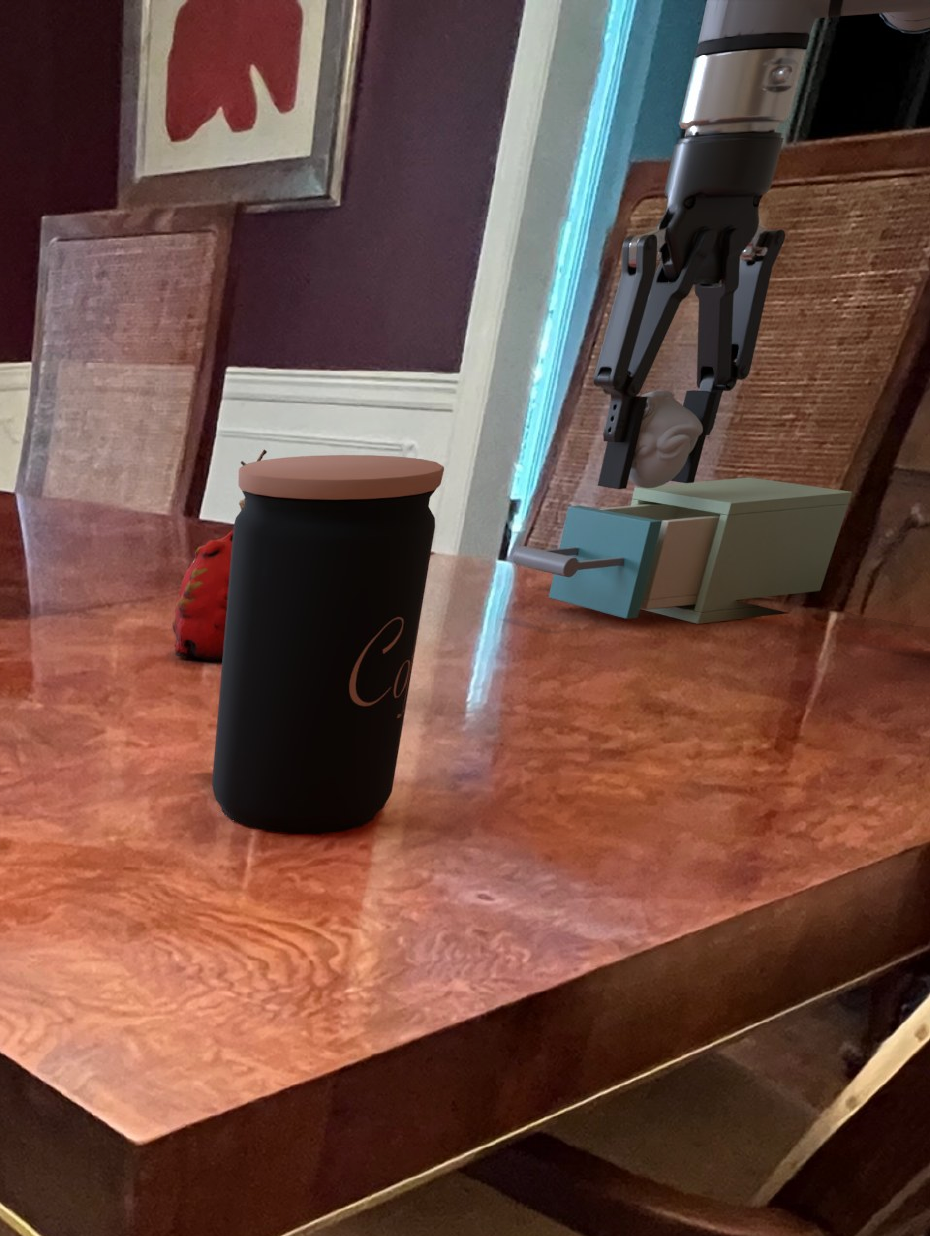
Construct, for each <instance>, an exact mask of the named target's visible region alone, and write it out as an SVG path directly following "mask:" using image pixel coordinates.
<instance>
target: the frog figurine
mask: <svg viewBox="0 0 930 1236" xmlns="http://www.w3.org/2000/svg"><path fill="white" fill-rule="evenodd" d="M641 396H643V397H648V398H647V402H646V407H645V411H644V415H643V419H642V424H641V428H640V432H639V436H638V441H637V445H636V449H635V453H634V458H633V462H632V466H631V470H630V475H629V479H628V480H629V481H630V482H631V483H632V484H634V485H635V486H636V487H643V488H655V487H658V486H661V485H667V483H669V482H671V481H670V480H672V479H673V478H674V477H675V476H676V475H677V474H678V473H679V472H680V471H681V469H682V468H683V466H684V464H685V463H686V460H687V458H688V454H689V453H690V452H691V451H692V450H693V448H694V446H695V444H696V442H697V439H698V436H699V435H700V434H701V433H702V432H703V427H702V424H701V422H700V421H699V419H698V418H697V417H696V416H695V415H694V414H693V413H692V412H691V411H690V410H688V409H686V408H685V407H684V406H683V403H681V402H679V401H678V400H676V398H675V397H674V394H673V392H671V391H669V390H667V389H666V390H665V389H660V390H659V389H658V390H651V391H648V392H647V393H644V394H642V395H641Z"/></svg>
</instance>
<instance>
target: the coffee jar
mask: <svg viewBox="0 0 930 1236" xmlns="http://www.w3.org/2000/svg"><path fill="white" fill-rule="evenodd" d="M256 461H257V460H256ZM256 461H252V462H248V463H246V465H244V466H243V465H242V466H240V467H239V469H238V482H237V483H238V487H239V489H240V490H241V492H242V494H243V496H244V498H245V507H244V508H243V509H242V510H241V509H240V511H239V513H238V514H237V516H236V517H235V520H234V523H233V527H232V528H233V529H232V531H233V540H232V552H231V564H230V575H229V587H228V599H227V611H226V623H225V635H224V647H223V659H222V660H221V673H220V684H219V685H220V686H219V694H218V695H219V697H218V708H217V718H216V719H217V720H216V732H215V741H214V743H215V745H214V754H213V755H214V756H213V767H212V778H211V779H212V780H211V786H212V792H213V795H214V798H215V801H216V803H217V804H218V805H219V806H220V809H221V813H222V812H223V813H224V814H223V813H222V814H223V815H224V816H226V815H227V816H226V817H227V818H228V817H229V818H228V819H230V820H231V821H232V820H234V821H233V822H235V823H237V822H238V823H237V824H240V825H242V824H243V825H242V826H244V827H247V826H248V828H251V827H252V829H256V830H260V829H261V830H260V831H266V832H269V833H279V834H289V835H323V834H333V833H342V832H346V831H350V830H354V829H358V828H361V827H363V826H366V825H367V824H369V823H371V822H372V821H374V819H375V818H376V816H377V815H378V813H379V812H380V811H381V810H383V808H384V807H385V805H386V803H388V800H389V798H390V797H391V794H392V792H393V788H394V783H395V782H394V781H395V776H396V769H397V763H398V758H399V751H400V743H401V739H402V733H403V727H404V720H405V713H406V707H407V701H408V695H409V689H410V683H411V677H412V671H413V666H414V665H413V664H414V658H415V654H416V646H417V642H418V641H417V640H418V636H419V635H418V633H419V628H420V621H421V616H422V609H423V605H424V604H423V603H424V598H425V591H426V585H427V579H428V572H429V567H430V561H431V555H432V549H433V543H434V536H435V532H436V531H435V530H436V518H435V516H434V513H433V512H432V510H431V508H430V501H431V500H430V499H431V497H432V495H433V494H434V493H435V491H436V490H437V489H438V488H439V487H440V486H441V484H442V479H443V476H444V472H445V466H443V464H440V463H439V462H437V461H433V460H429V459H423V458H417V457H416V458H415V457H407V456H406V457H405V456H394V455H393V456H392V455H374V454H372V455H371V454H326V455H303V456H289V457H278V458H268V459H261V461H257V462H256Z"/></svg>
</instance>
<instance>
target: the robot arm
mask: <svg viewBox="0 0 930 1236" xmlns="http://www.w3.org/2000/svg"><path fill="white" fill-rule="evenodd" d="M705 3H706V4H705V8H704V13H703V18H702V22H701V28H700V32H699V38H698V41H697V45H698V46H696V50H695V54H694V59H693V62H692V66H691V70H690V75H689V79H688V84H687V88H686V91H685V96H684V101H683V105H682V109H681V113H680V118H679V122H678V125H679V126H680V129H683V130H685V133H684V137H683V138H682V137H681V138H679V139H678V141H677V143H676V144H674V147H673V151H672V156H671V160H670V164H669V167H668V168H669V170H668V173H667V178H666V182H665V187H664V190H663V191H664V198H666V200H667V203H666V209H665V211H664V213H663V215H662V217H661V219H660V221H659V222H658V225H657V227H656V228H655V229H653V230H651V231H647V232H646V233H644V234H631V235H628V236H627V237H626V238H624V241H623V243H622V249H621V274H620V278H619V281H618V285H617V288H616V292H615V293H616V294H615V297H614V300H613V303H612V307H611V312H610V315H609V319H608V322H607V326H606V330H605V333H604V337H603V341H602V345H601V349H600V352H599V353H600V354H599V356H598V360H597V363H596V367H595V371H594V375H593V379H592V382H593V385H594V387H596V388H601V389H602V390H603V393H604V394H605V395H610V402H609V406H608V411H607V416H606V421H605V425H604V429H603V433H602V437H603V442H606V446H605V449H604V450H605V451H604V455H603V460H602V463H601V469H600V473H599V478H598V482H597V486H598V487H603V488H608V489H609V488H610V489H614V490H625V489H627V487H628V483H629V480H630V479H629V475H630V470H631V466H632V462H633V458H634V453H635V449H636V445H637V441H638V436H639V432H640V428H641V424H642V419H643V415H644V411H645V407H646V402H647V398H648V397H643V396H642V395H641V396H640V395H639V394H640V392H641V391H642V388H643V386H644V385H645V382H646V380H647V378H648V375H649V373H650V371H651V369H652V366H653V364H654V362H655V360H656V358H657V356H658V353H659V352H660V349H661V347H662V344H663V342H664V340H665V338H666V336H667V333H668V331H669V329H670V327H671V325H672V323H673V321H674V318H675V316H676V314H677V312H678V309H679V307H680V305H681V303H682V302H683V300H685V299H686V298H687V297H688V296H689V294H690V293H691V290H692V289H693V286H694V294H695V296H696V297H697V299H698V317H697V318H698V319H697V320H698V321H697V355H696V359H697V360H696V387H697V389H698V390H696V389H691V390H686V392H685V395H684V400H683V403H682V406H684V407H685V408H686V409H688V410H690V411H691V412H692V413H693V414H694V415H695V416H696V417H697V418H698V419H699V421H700V422H701V424H702V427H703V432H702V433H701V434H700V435H699V436H698V439H697V442H696V444H695V446H694V448H693V450H692V451H691V452H690V453H689V454H688V458H687V460H686V463H685V464H684V466H683V468H682V469H681V471H680V472H679V473H678V474H677V475H676V476H675V477H674V478H673V479H672V480H670V481H669V482H675V483H694V482H695V480H696V475H697V473H698V469H699V464H700V461H701V457H702V453H703V448H704V445H705V441H706V437H707V436H710V435H711V433H712V431H713V429H714V426H715V422H716V419H717V413H718V412H719V411H718V410H719V408H720V407H719V406H720V403H721V400H722V396H723V393H724V392H730V391H732V390H734V388H735V386H736V385H737V382H738V380H739V381H740V380H741V381H743V380H745V379H746V378H747V377H748V375H749V374H750V371H751V369H752V363H753V360H754V359H753V358H754V355H755V349H756V345H757V340H758V337H759V331H760V327H761V322H762V317H763V313H764V309H765V304H766V299H767V295H768V290H769V285H770V280H771V276H772V272H773V267H774V265H775V263H776V260H777V258H778V256H779V254H780V251H781V249H782V247H783V245H784V243H785V240H786V232H785V230H784V229H768V228H767V227H766V228H765V227H764V226H761V225H760V214H759V213H760V212H759V209H760V202H761V200H762V198H763V196H765V194H767V193H768V192H769V191H770V190H771V188H772V186H773V181H774V177H775V174H776V169H777V165H778V162H779V158H780V154H781V151H782V146H783V143H784V140H785V139H784V138H783V137H782V135H783V133H782V132H777V129H778V126H779V124H782V123H784V122H785V121H786V120H787V119H788V118H790V114H791V110H792V107H793V104H794V99H795V95H796V91H797V88H798V83H799V80H800V77H801V72H802V68H803V65H804V60H805V56H806V53H807V50H808V46H809V42H810V39H811V32H812V30H813V27H814V24H815V22H816V20H817V19H820V18H821V19H822V18H829V19H831V18H833V19H834V18H840V17H845V16H846V17H847V16H858V15H861V16H862V15H873V14H875V15H876V14H879V17H880V18H881V19H883V21H884V23H885V24H886V25H887V26H889V28H892V29H894V30H897V31H900V32H901V33H903V34H910V35H915V34H923V33H926V32H929V31H930V0H706V2H705ZM658 261H659V264H658V266H657V262H658Z"/></svg>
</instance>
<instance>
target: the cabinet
mask: <svg viewBox="0 0 930 1236" xmlns="http://www.w3.org/2000/svg"><path fill="white" fill-rule="evenodd" d="M852 494H853V492H852V491H848V490H841V489H834V488H827V487H821V486H820V487H819V486H813V485H805V484H799V483H793V482H792V483H791V482H784V481H777V480H770V479H764V478H758V477H757V478H756V477H739V478H737V477H736V478H726V479H716V480H714V479H713V480H704V481H694V483H681V482H679V483H671V484H664V485H661V486H658V487H655V488H643V487H639V486H635V487H634V489H633V493H632V497H631V502H630V506H631V505H642V504H653V503H660V504H666V505H672V506H678V507H683V508H689V509H695V510H701V511H707V512H712V513H718V514H721V515H720V518H719V522H718V525H717V529H716V533H715V536H714V540H713V544H712V547H711V551H710V555H709V558H708V562H707V565H706V569H705V573H704V576H703V580H702V584H701V587H700V591H699V595H698V598H697V602H696V604H694V605H685V606H676V607H667V608H658V609H650V610H645V609H641V608H640V610H642V611H646V612H649V613H650V612H651V613H654V614H658V615H660V616H661V615H662V616H665V617H668V618H669V617H670V618H673V619H677V620H681V621H685V622H689V623H692V624H696V625H703V624H710V623H719V622H728V621H736V620H743V619H752V618H761V617H770V616H779V615H787V614H789V612H788V611H784V610H783V611H782V610H779V609H774V608H770V607H766V606H762V605H757V604H754V603H749V602H746V601H745V602H744V601H740V600H750V599H759V598H768V597H775V596H776V597H777V596H785V595H795V594H805V593H812V592H821V590H822V587H823V584H824V581H825V577H826V574H827V572H828V568H829V566H830V562H831V559H832V555H833V553H834V550H835V546H836V544H837V540H838V537H839V533H840V531H841V528H842V525H843V522H844V519H845V515H846V512H847V510H848V507H849V504H850V501H851V499H852V498H851V497H852Z"/></svg>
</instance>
